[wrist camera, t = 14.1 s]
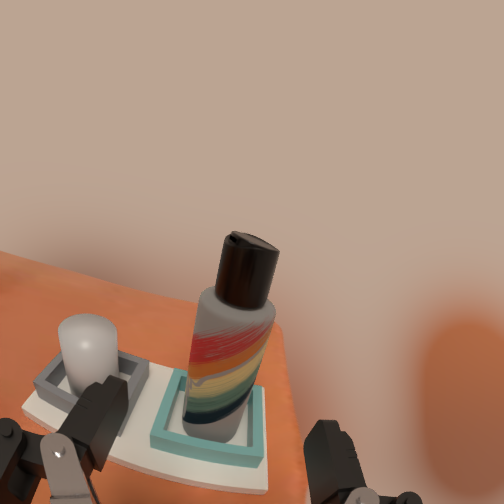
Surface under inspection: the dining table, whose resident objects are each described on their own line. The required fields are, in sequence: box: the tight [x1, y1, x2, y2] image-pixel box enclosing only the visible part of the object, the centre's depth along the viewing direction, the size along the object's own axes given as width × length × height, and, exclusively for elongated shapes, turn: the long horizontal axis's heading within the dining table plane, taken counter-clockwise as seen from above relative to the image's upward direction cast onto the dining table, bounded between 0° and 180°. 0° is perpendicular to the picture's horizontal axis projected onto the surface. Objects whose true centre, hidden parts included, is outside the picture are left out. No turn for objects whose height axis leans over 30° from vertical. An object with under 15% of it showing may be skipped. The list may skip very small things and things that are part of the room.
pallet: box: [21, 314, 268, 495], centre depth 22 cm, size 25×15×10 cm, turn 90°
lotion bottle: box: [182, 231, 280, 443], centre depth 21 cm, size 6×6×20 cm
